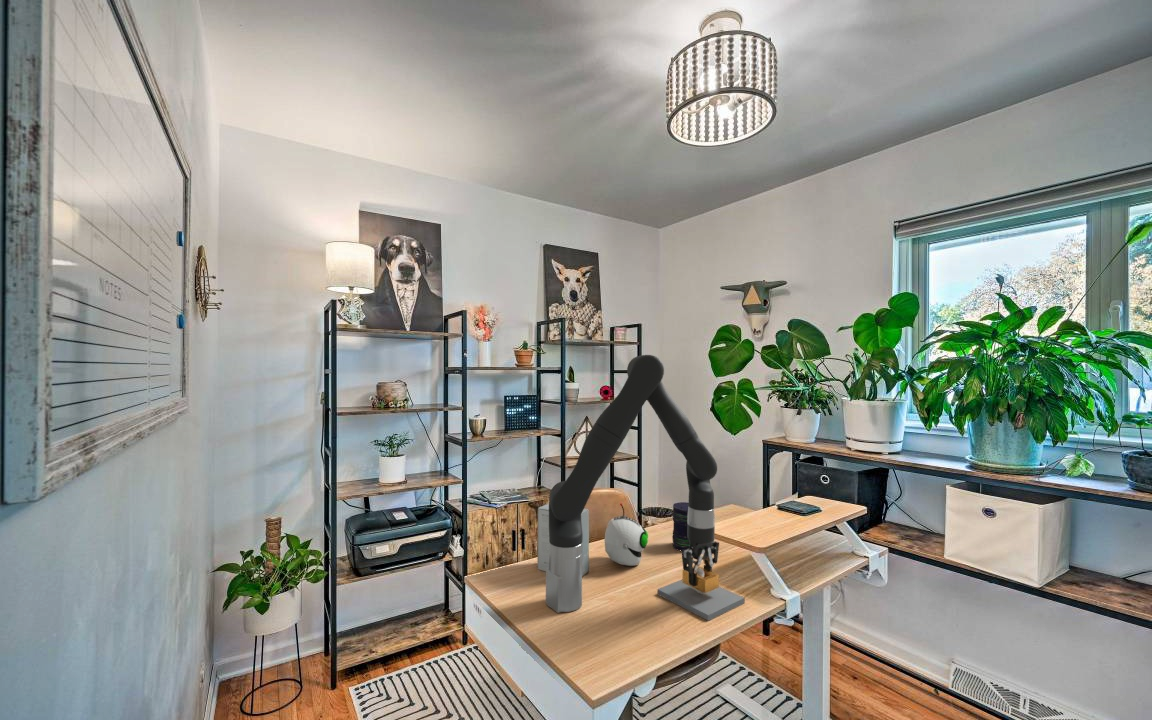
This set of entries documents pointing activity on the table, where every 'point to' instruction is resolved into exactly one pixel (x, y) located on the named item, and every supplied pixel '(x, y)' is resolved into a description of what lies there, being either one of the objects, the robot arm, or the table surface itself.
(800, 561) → the table surface
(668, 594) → the plate
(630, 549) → the robot head
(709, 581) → the open wooden box
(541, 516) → the hard drive box
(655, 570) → the table surface
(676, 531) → the storage jar
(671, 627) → the table surface
